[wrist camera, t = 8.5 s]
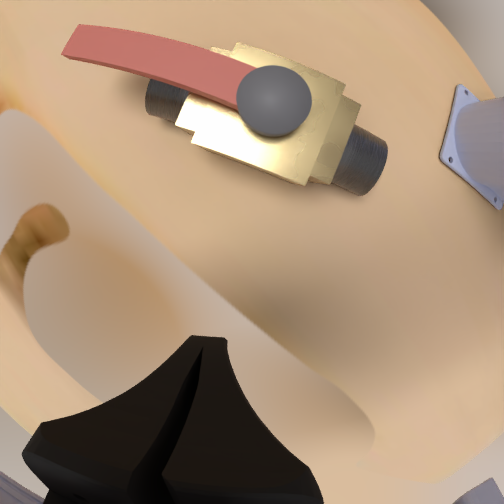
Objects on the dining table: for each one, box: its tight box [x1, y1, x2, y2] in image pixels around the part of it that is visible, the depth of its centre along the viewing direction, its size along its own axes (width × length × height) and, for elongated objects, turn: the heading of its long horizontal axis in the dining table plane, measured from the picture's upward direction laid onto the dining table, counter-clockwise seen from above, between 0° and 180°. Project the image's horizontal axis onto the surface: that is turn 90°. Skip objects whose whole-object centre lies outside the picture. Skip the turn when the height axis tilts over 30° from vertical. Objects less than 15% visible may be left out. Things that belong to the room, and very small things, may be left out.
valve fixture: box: [145, 42, 388, 196], centre depth 15 cm, size 14×6×6 cm, turn 68°
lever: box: [61, 24, 312, 137], centre depth 10 cm, size 3×14×1 cm, turn 64°
